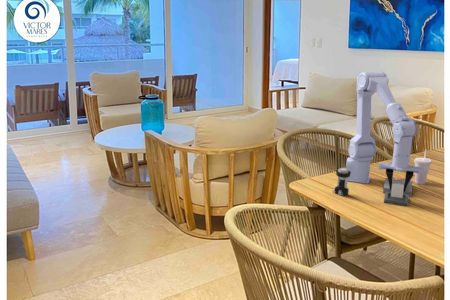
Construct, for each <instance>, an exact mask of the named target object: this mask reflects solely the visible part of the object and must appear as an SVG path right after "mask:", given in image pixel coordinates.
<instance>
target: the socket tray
mask: <svg viewBox="0 0 450 300" xmlns="http://www.w3.org/2000/svg"><path fill="white" fill-rule="evenodd" d="M383 203H384V204H390V205H397V206H403V207H408V206H409V196H408V195H407V194H403V198H399V197H392V196H391V192H386V193H384V199H383Z"/></svg>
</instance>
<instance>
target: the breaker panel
mask: <svg viewBox="0 0 450 300" xmlns="http://www.w3.org/2000/svg"><path fill="white" fill-rule="evenodd" d="M395 178H396V177H394V176H393V178H392V182H393V180H395ZM401 178H402V179H403V181H404V183H405V178H403V177H401ZM412 191H413V181H412V180H410V181H409V183H408V185H407V187H406V190H405V192H403V194H407V195H408V198H412V194H413V193H412ZM386 192H391V190H390V186H389V181H388V178H387V177H385V180H384V184H383V191H382V193H383V194H385V193H386Z"/></svg>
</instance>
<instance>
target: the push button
mask: <svg viewBox="0 0 450 300" xmlns="http://www.w3.org/2000/svg"><path fill="white" fill-rule="evenodd" d="M335 174H336V176H337V184H336V186H335V187H331V191H332V192H334V194H335V195H338V196H342V197H347V196H349V190H350V189H349V188H348V182H349V181H348V177H350V174H351V172H350V171H349V169H347V168H346V167H339V168H338V169H337V170H336V171H335Z"/></svg>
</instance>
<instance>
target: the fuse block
mask: <svg viewBox="0 0 450 300" xmlns="http://www.w3.org/2000/svg"><path fill="white" fill-rule="evenodd" d="M403 190H404V181H402V180H396V179H395V180H393V182H392V189H391V196H392V197H399V198H403Z"/></svg>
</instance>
